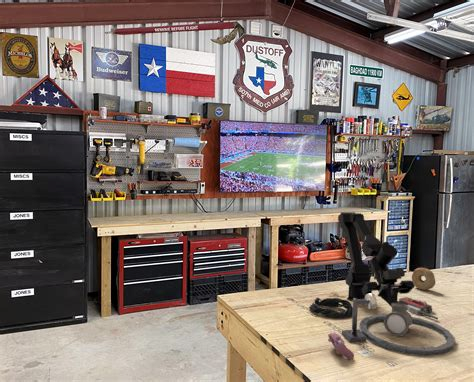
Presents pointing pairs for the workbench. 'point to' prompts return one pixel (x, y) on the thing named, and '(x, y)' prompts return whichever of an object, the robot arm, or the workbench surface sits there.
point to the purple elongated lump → (340, 345)
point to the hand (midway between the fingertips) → (395, 309)
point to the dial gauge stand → (355, 334)
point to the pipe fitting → (398, 320)
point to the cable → (331, 303)
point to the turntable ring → (405, 349)
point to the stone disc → (419, 282)
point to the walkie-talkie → (417, 306)
